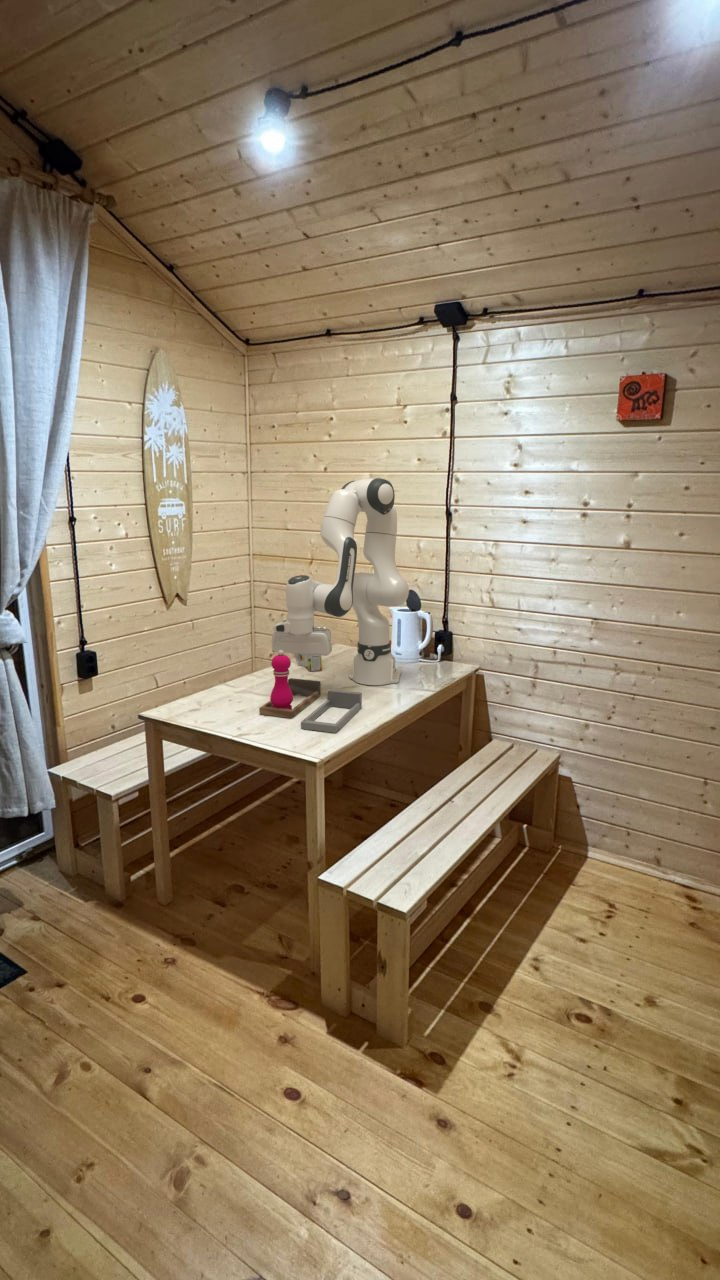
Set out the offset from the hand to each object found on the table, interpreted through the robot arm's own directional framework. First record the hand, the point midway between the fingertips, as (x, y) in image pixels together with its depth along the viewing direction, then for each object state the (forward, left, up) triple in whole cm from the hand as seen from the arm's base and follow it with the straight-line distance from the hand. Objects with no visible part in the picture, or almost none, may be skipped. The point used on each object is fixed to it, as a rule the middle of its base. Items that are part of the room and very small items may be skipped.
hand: (302, 666), depth 230 cm
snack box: (-40, -14, -11) cm, 43 cm away
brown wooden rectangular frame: (+9, -1, -11) cm, 14 cm away
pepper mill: (+15, -1, -11) cm, 19 cm away
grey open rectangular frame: (+16, +16, -11) cm, 25 cm away
